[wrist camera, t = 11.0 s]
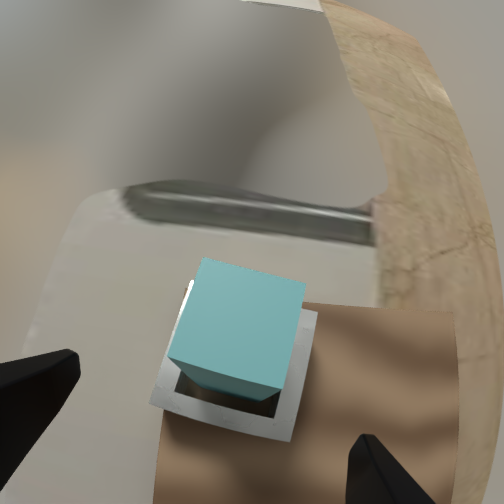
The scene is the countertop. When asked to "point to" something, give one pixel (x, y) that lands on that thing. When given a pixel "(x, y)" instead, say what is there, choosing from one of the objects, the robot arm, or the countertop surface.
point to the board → (330, 416)
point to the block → (237, 330)
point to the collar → (274, 426)
